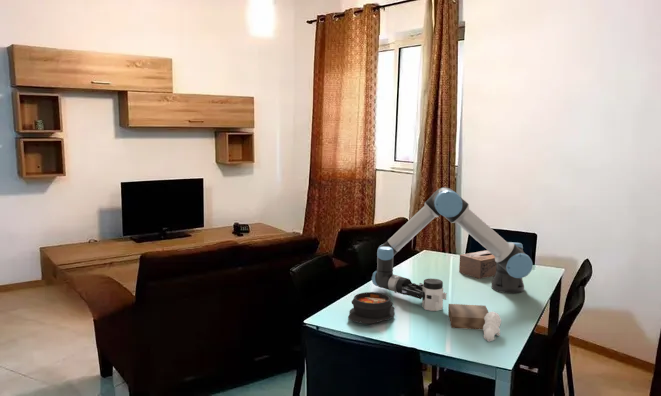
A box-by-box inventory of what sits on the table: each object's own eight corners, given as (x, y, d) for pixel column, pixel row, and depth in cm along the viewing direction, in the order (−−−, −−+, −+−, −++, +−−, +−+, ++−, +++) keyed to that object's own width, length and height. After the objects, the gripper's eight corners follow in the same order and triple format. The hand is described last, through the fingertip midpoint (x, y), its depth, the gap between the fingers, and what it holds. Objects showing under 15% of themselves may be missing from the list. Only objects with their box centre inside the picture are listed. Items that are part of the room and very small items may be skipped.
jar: (432, 312, 216) (433, 285, 214) (418, 307, 222) (419, 280, 221) (446, 308, 221) (447, 281, 219) (432, 303, 227) (433, 277, 226)
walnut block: (484, 317, 212) (485, 305, 211) (491, 331, 197) (491, 318, 197) (448, 315, 214) (448, 303, 213) (451, 328, 199) (452, 316, 199)
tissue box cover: (491, 266, 291) (492, 249, 290) (512, 272, 279) (513, 254, 278) (459, 272, 278) (459, 254, 277) (479, 279, 266) (480, 260, 264)
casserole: (365, 304, 226) (365, 286, 225) (404, 312, 216) (405, 293, 215) (337, 322, 204) (337, 302, 203) (379, 332, 195) (379, 310, 194)
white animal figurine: (502, 311, 193) (498, 324, 182) (501, 331, 195) (497, 346, 184) (485, 308, 196) (479, 322, 185) (484, 329, 198) (479, 343, 187)
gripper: (412, 289, 240) (454, 301, 223) (387, 296, 229) (429, 310, 211) (412, 273, 239) (454, 285, 222) (387, 280, 228) (430, 293, 210)
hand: (442, 297), depth 217 cm, fingers closed on jar, 4 cm apart
